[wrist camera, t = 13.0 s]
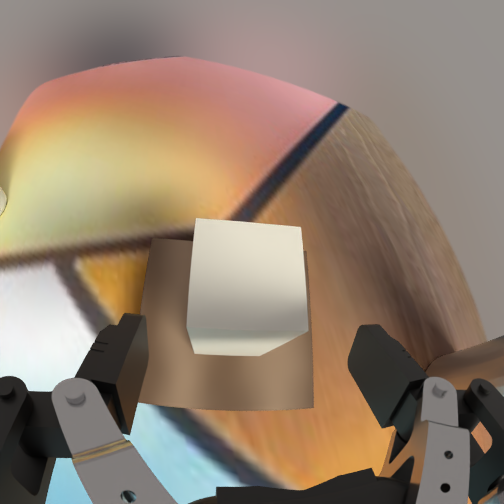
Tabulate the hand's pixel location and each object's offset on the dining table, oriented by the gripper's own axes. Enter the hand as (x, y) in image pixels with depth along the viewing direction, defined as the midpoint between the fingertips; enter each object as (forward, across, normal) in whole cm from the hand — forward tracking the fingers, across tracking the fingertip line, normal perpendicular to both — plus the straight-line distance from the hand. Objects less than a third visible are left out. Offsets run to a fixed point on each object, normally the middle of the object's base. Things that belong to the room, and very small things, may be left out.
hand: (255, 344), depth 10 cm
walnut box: (+15, 0, +10) cm, 18 cm away
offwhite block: (+11, 0, +6) cm, 12 cm away
